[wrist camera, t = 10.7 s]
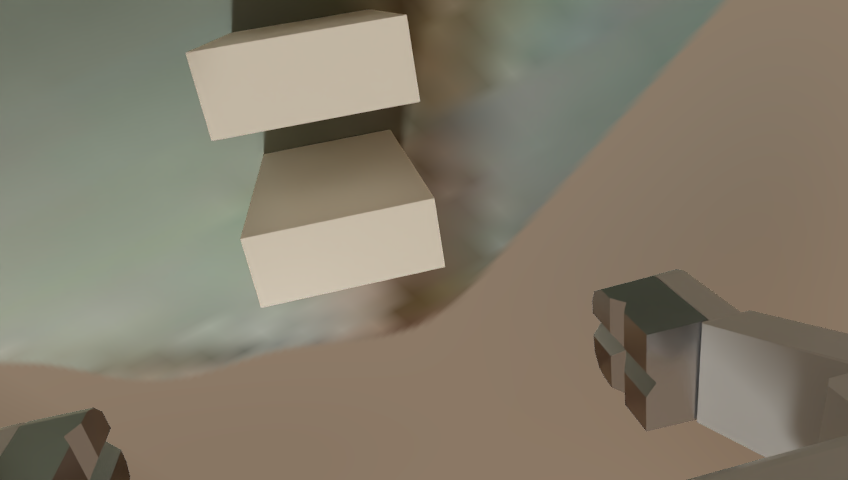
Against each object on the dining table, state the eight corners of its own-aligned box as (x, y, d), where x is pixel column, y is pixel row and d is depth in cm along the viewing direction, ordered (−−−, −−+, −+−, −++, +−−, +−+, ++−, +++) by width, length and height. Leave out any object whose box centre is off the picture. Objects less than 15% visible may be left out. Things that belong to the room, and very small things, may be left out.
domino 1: (231, 32, 21) (185, 52, 13) (369, 9, 22) (406, 14, 14) (246, 88, 22) (212, 141, 14) (378, 64, 23) (419, 101, 15)
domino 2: (263, 154, 23) (240, 238, 15) (390, 129, 24) (434, 198, 16) (276, 202, 24) (261, 307, 16) (398, 177, 25) (444, 266, 16)
